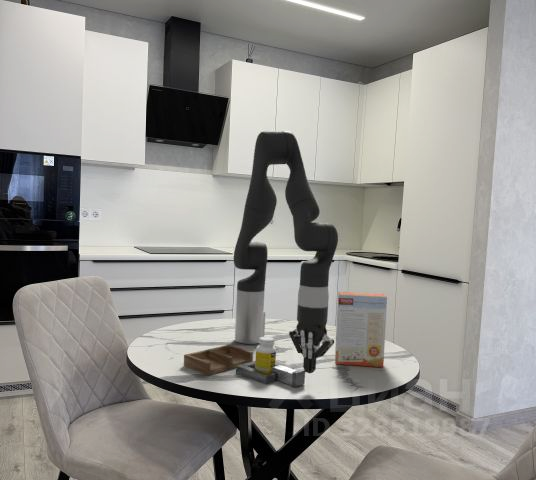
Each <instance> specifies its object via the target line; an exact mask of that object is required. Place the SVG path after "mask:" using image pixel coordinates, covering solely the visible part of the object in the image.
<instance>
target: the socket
mask: <svg viewBox="0 0 536 480" xmlns="http://www.w3.org/2000/svg"><path fill="white" fill-rule="evenodd" d="M278 365H282V366H285V367H288V368H291V369H294V370H295V367H293V366H290V365H286V364H283V363H280V362H277V361H275V366H278ZM235 374H237V375H240V376H242V377H245V378H248V379H251V380H254V381H255V382H256V381H257V382H258V383H262V384H264V385H268V384H270V383H274V382H276V380H275V373H272V372H267V373H265V372H262V371H259V370H256V369H255V360H253V361H252V362H249V363H245V364H241V365H238V366H236V368H235Z"/></svg>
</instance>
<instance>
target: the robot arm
mask: <svg viewBox="0 0 536 480" xmlns="http://www.w3.org/2000/svg"><path fill="white" fill-rule="evenodd" d="M272 165H274V166H275V165H287V167H288V168H289V169H288V170H289V176H288V179H287V182H286V186H285V190H284V196H285V201H286V204H287V206H288V209H289V212H290V213H291V216H292V221H293V233H294V241H295V244H296V245H297V247H298V248H299V249H300V250H302V251H303V252H315V255H314V256H313V258H312V259H309V260H308V259H307V260H305V261H303V262H302V263H301V265H300V272H299V275H300V276H299V286H298V288H299V289H298V292H297V306H296V307H297V308H296V309H297V311H296V320H297V324H296V328H295V329H294V330H290V331H288V335H289V337H290V339H291V342H292V344H293V345H294V348H295V350H296V352H297V354H301V355H302V357H303V362H302V363H303V365H302V367H303V368H302V369H303V370H304V371H305V373H307V374H313V373H314V372H315V371H316V367H317V359H319V358H321V357H324V356H325V354H326V353H327V352H328V351H329V350H330V348H332V346H333V345H334V344H335V339H332V338H330V337H329V336H328V331H327V330H328V329H327V323H328V314H329V280H330V279H329V278H330V277H329V276H330V267H331V266H332V262H333V259H334V256H335V254H336V250H337V247H338V243H339V233H338V231H337V229H336V226H334V225H333V224H332V223H329V222H314V221H315V220H317V219H318V218H319V216H320V212H321V211H320V208H319V207H320V206H319V204H318V202H317V200H316V197H315V195H314V193H313V191H312V189H311V186H310V183H309V181H308V178H307V173H306V170H305V166H304V162H303V157H302V154H301V150H300V147H299V143H298V140H297V138H296V136H295V133H293V132H291V131H288V130H264V131H260V133H258V135H257V137H256V140H255V145H254V153H253V160H252V169H251V177H250V182H249V185H248V186H249V188H248V191H247V195H246V198H245V205H244V209H243V215H242V221H241V226H240V230H239V234H238V237H237V240H236V244H235V247H234V252H233V264H234V267H235V268H236V269H239V270H251V271H254V272H253V273H252V274H251V275H250V276H247V277H245V278H242V279H239V280H238V281H237V282H236V283H237V284H236V302H235V303H236V307H235V309H236V310H235V324H234V325H235V327H234V328H235V330H234V341H235V342H237V343H240V344H247V345H255V344H259V338H260V337H265V332H266V331H265V329H266V312H265V311H264V307H265V291H266V290H265V287H266V278H267V277H266V275H267V274H266V273H267V266H268V265H267V264H268V247H267V244H266V243H265V242H263V241H262V242H261V241H252V240H253V239H254V238H255V237H256V236H257V235H258V234H259V233H261V232H262V231H263V230H265V228H266V227H268V225H270V224H271V222H272V221H273V218H274V215H275V211H276V207H277V203H278V201H277V194H276V191H275V190H274V188H273V186H272V185H271V183H270V181H269V178H268V168H269V166H272Z"/></svg>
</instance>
